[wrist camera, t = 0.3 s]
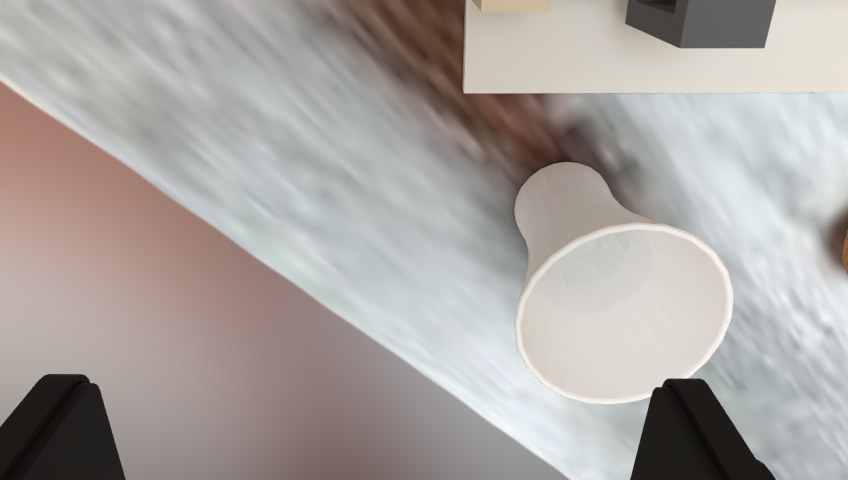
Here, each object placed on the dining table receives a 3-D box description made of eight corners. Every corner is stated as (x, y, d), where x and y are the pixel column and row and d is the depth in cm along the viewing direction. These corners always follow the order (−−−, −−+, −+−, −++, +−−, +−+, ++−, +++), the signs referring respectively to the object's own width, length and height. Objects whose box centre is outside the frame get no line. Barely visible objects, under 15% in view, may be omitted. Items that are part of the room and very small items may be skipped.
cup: (581, 295, 44) (644, 431, 32) (456, 235, 42) (474, 359, 30) (671, 176, 40) (782, 282, 28) (539, 102, 38) (598, 184, 26)
